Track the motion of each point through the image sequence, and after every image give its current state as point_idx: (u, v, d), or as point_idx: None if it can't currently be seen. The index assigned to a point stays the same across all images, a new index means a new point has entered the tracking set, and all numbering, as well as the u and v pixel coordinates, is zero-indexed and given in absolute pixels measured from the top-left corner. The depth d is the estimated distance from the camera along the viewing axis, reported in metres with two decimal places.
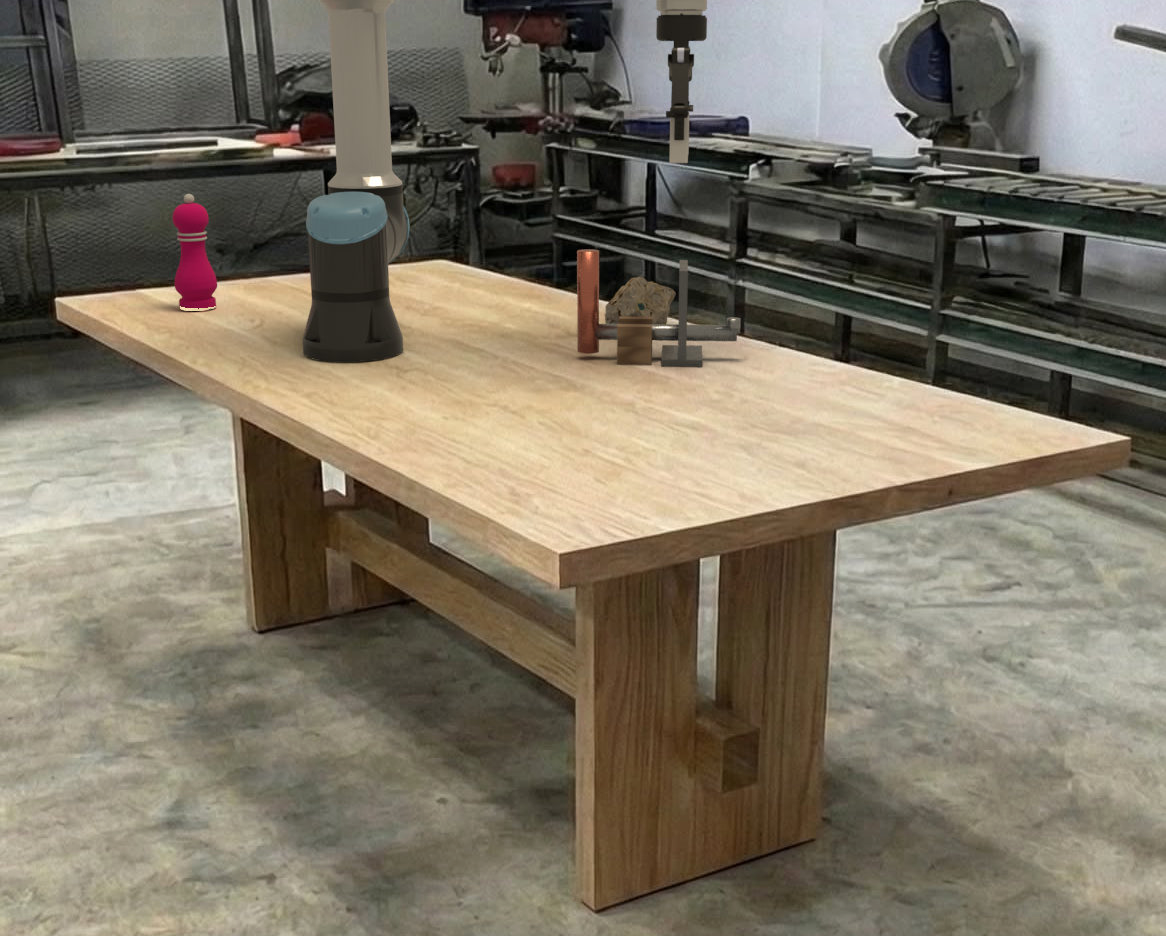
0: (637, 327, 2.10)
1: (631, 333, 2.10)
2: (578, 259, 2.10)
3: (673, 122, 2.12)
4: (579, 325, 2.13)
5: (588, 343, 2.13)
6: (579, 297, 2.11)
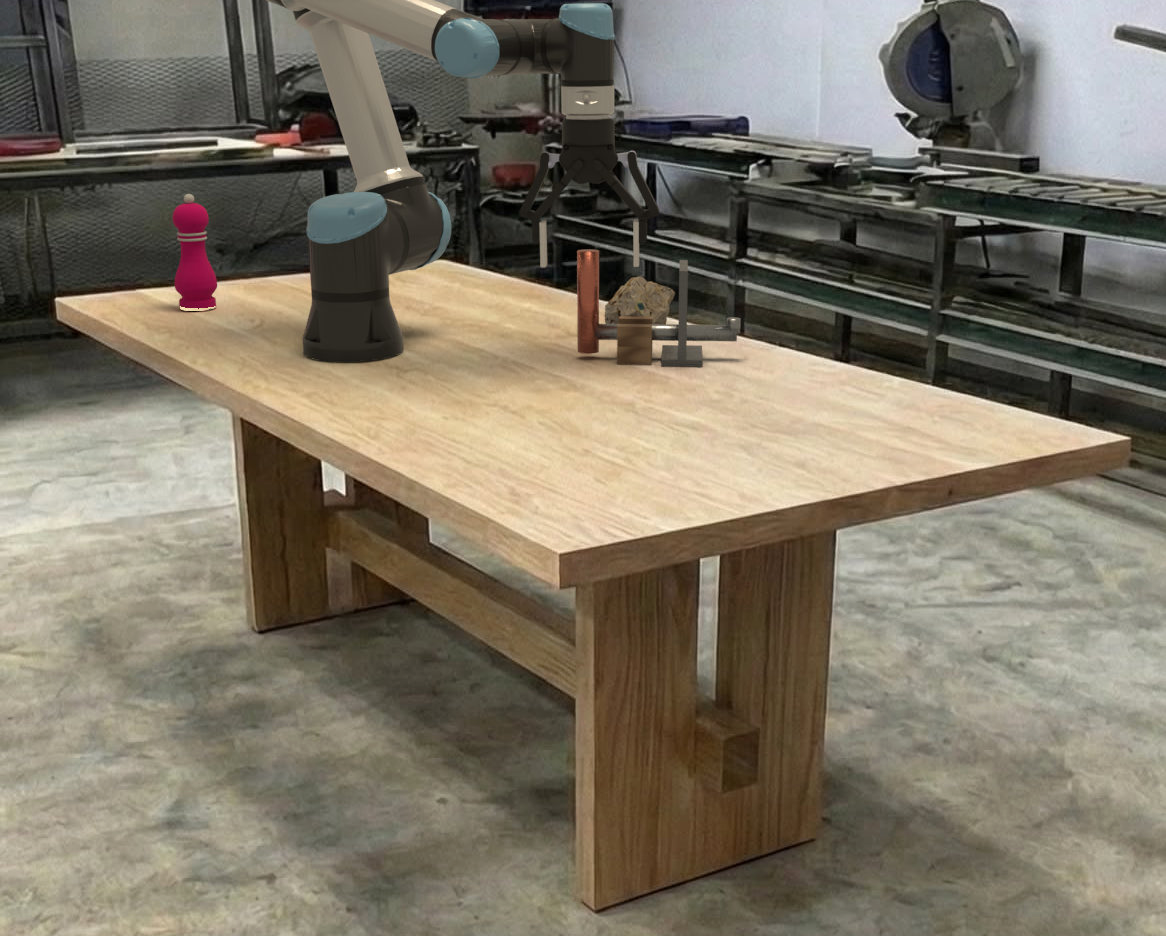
0: (637, 327, 2.10)
1: (631, 333, 2.10)
2: (578, 259, 2.10)
3: None
4: (579, 325, 2.13)
5: (588, 343, 2.13)
6: (579, 297, 2.11)
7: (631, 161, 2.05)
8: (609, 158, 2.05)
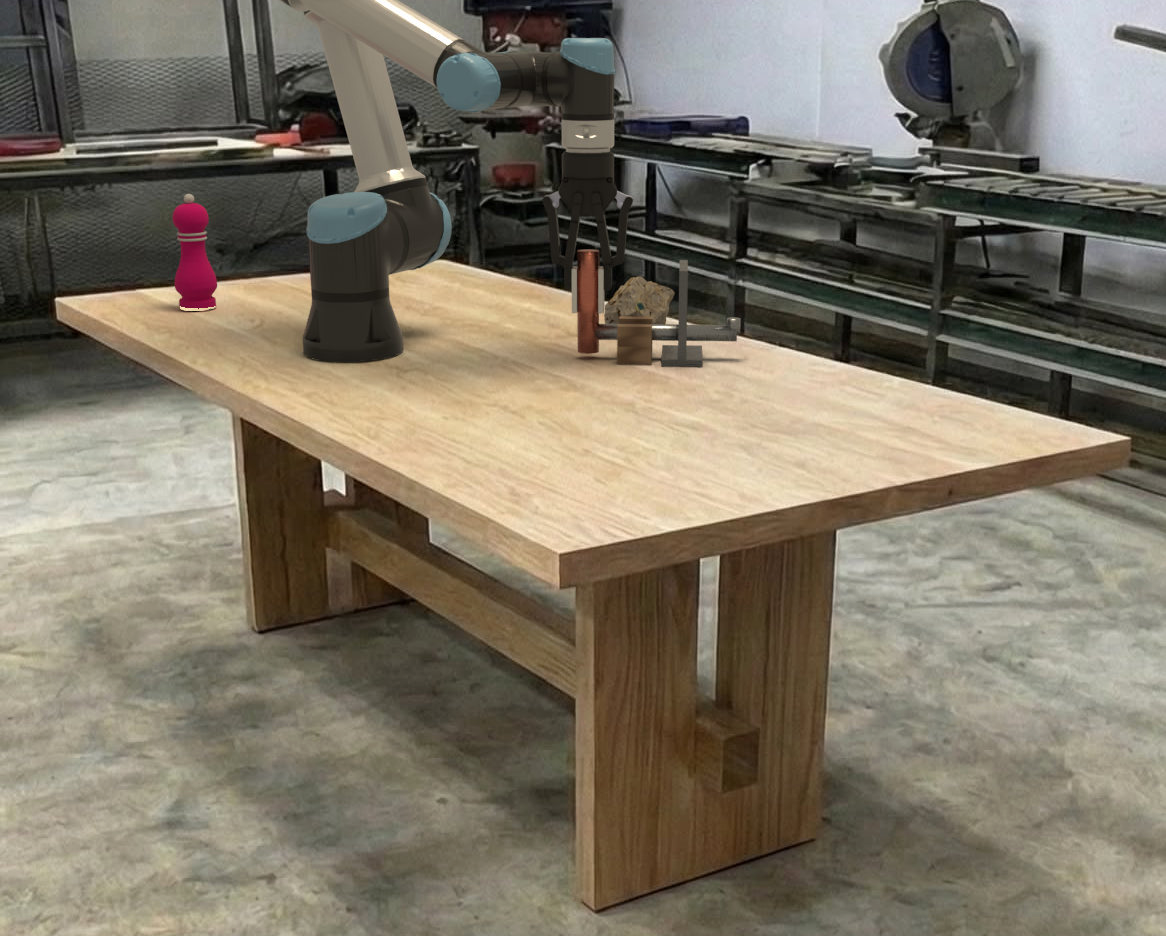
0: (637, 327, 2.10)
1: (631, 333, 2.10)
2: (578, 259, 2.10)
3: None
4: (579, 325, 2.13)
5: (588, 343, 2.13)
6: (579, 297, 2.11)
7: (625, 205, 2.07)
8: (608, 191, 2.07)
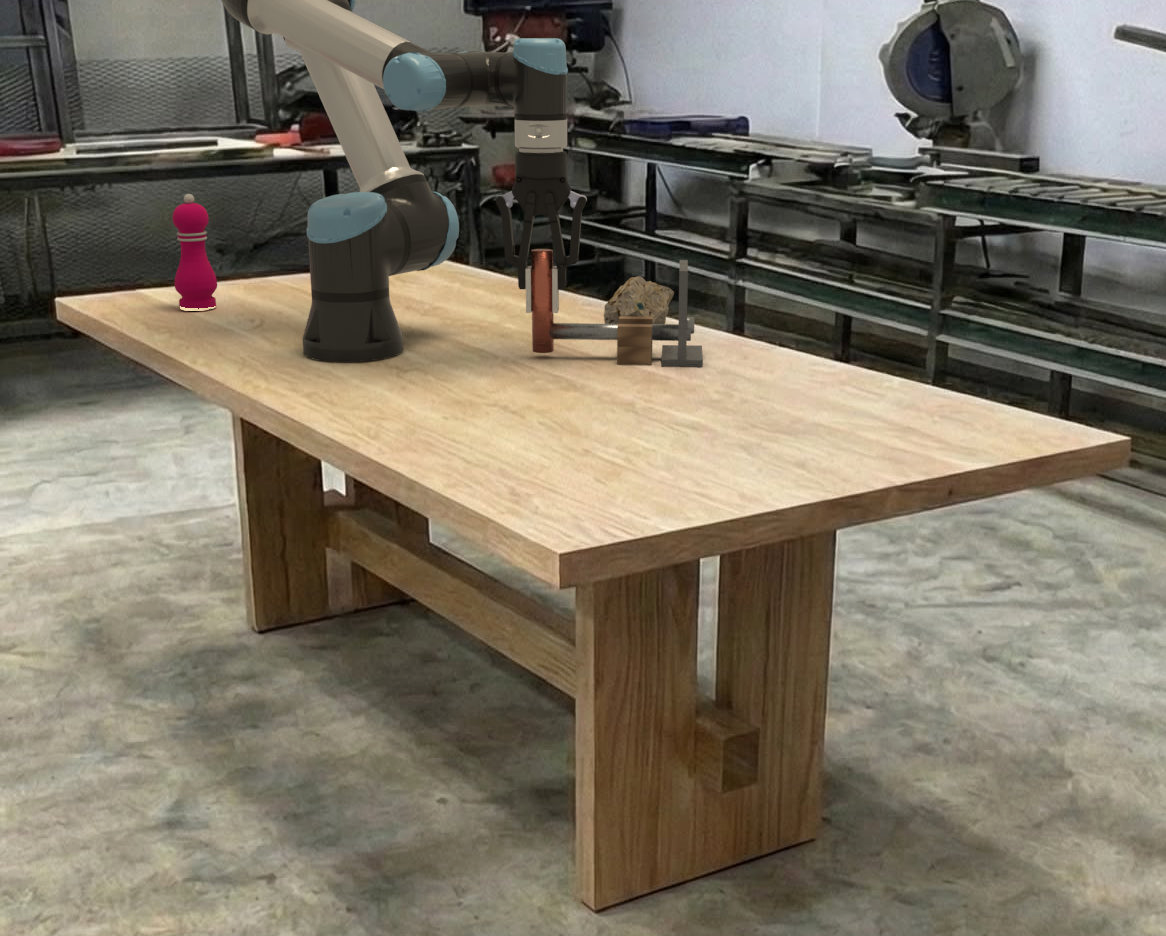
0: (637, 327, 2.10)
1: (631, 333, 2.10)
2: (532, 259, 2.11)
3: None
4: (533, 324, 2.13)
5: (542, 343, 2.13)
6: (534, 296, 2.12)
7: (579, 205, 2.08)
8: (562, 191, 2.07)
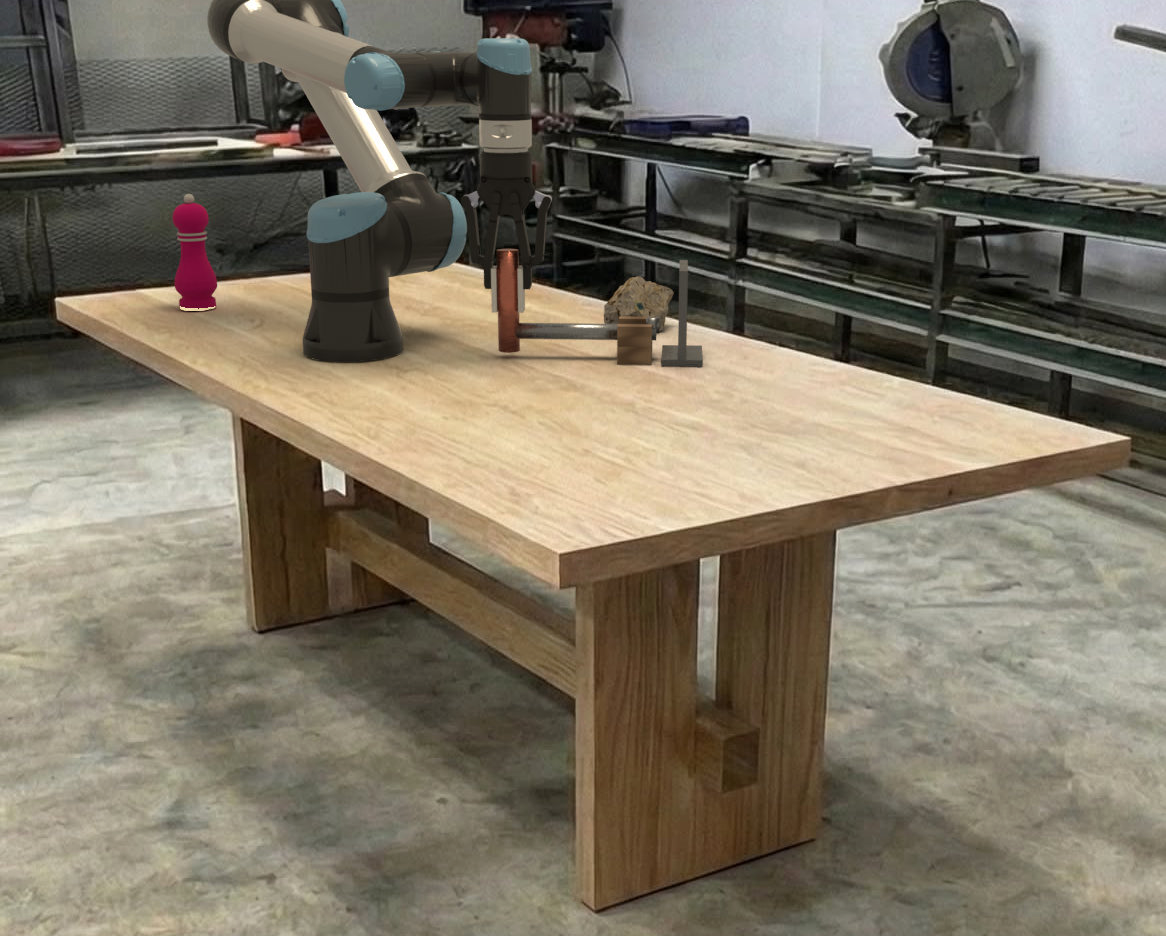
0: (637, 327, 2.10)
1: (631, 333, 2.10)
2: (497, 258, 2.11)
3: None
4: (499, 324, 2.14)
5: (508, 342, 2.14)
6: (499, 296, 2.12)
7: (543, 205, 2.08)
8: (526, 191, 2.07)
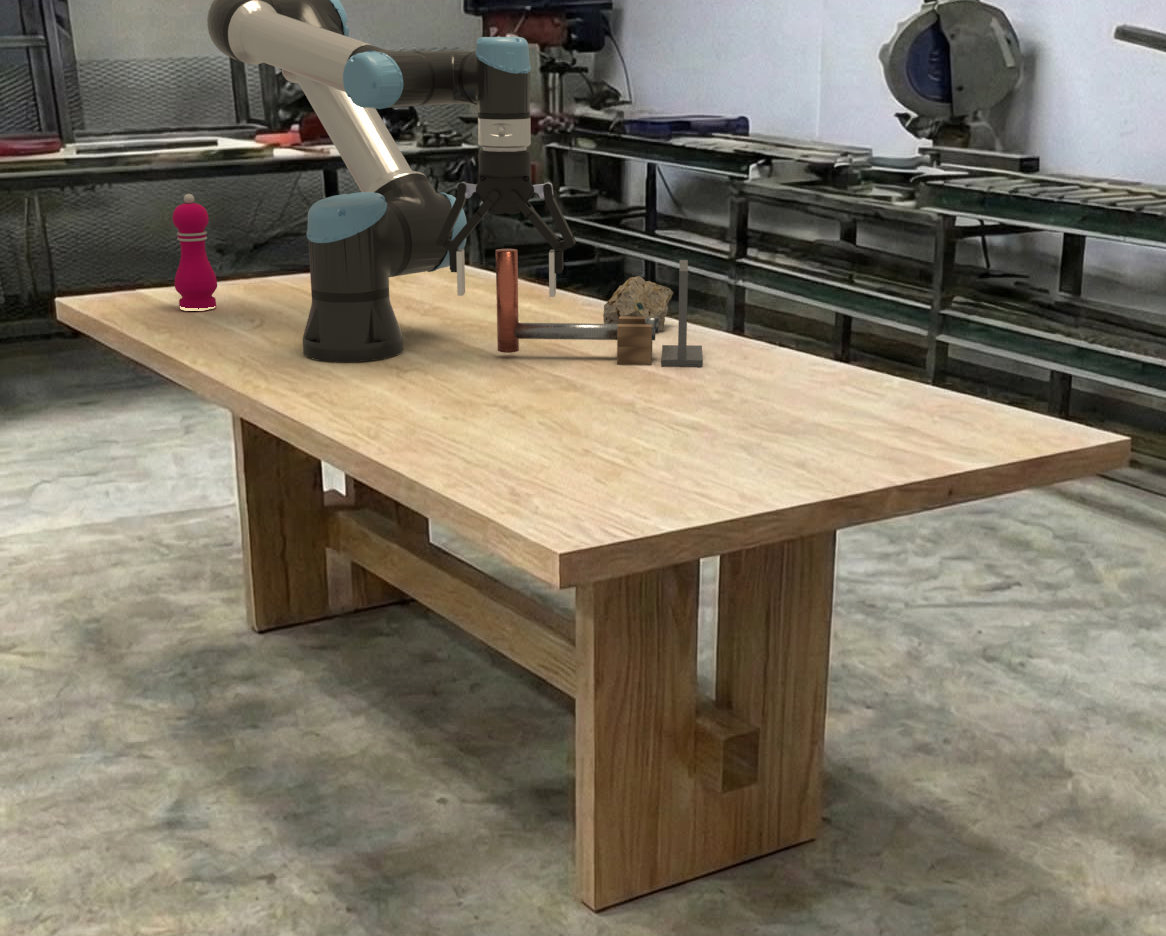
0: (637, 327, 2.10)
1: (631, 333, 2.10)
2: (496, 258, 2.11)
3: None
4: (498, 324, 2.14)
5: (507, 342, 2.14)
6: (498, 296, 2.12)
7: (547, 193, 2.07)
8: (525, 189, 2.07)
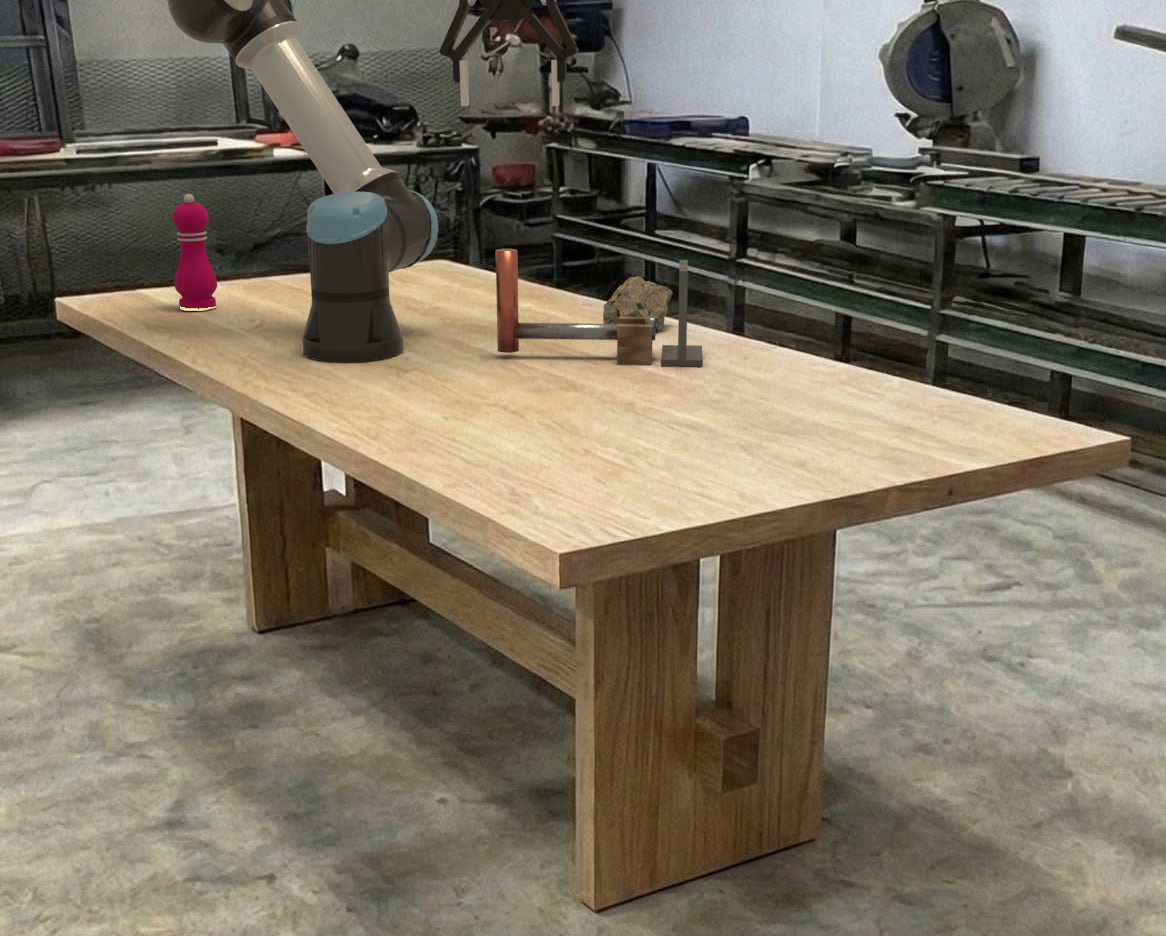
0: (637, 327, 2.10)
1: (631, 333, 2.10)
2: (496, 258, 2.11)
3: None
4: (498, 324, 2.14)
5: (507, 342, 2.14)
6: (498, 296, 2.12)
7: None
8: None
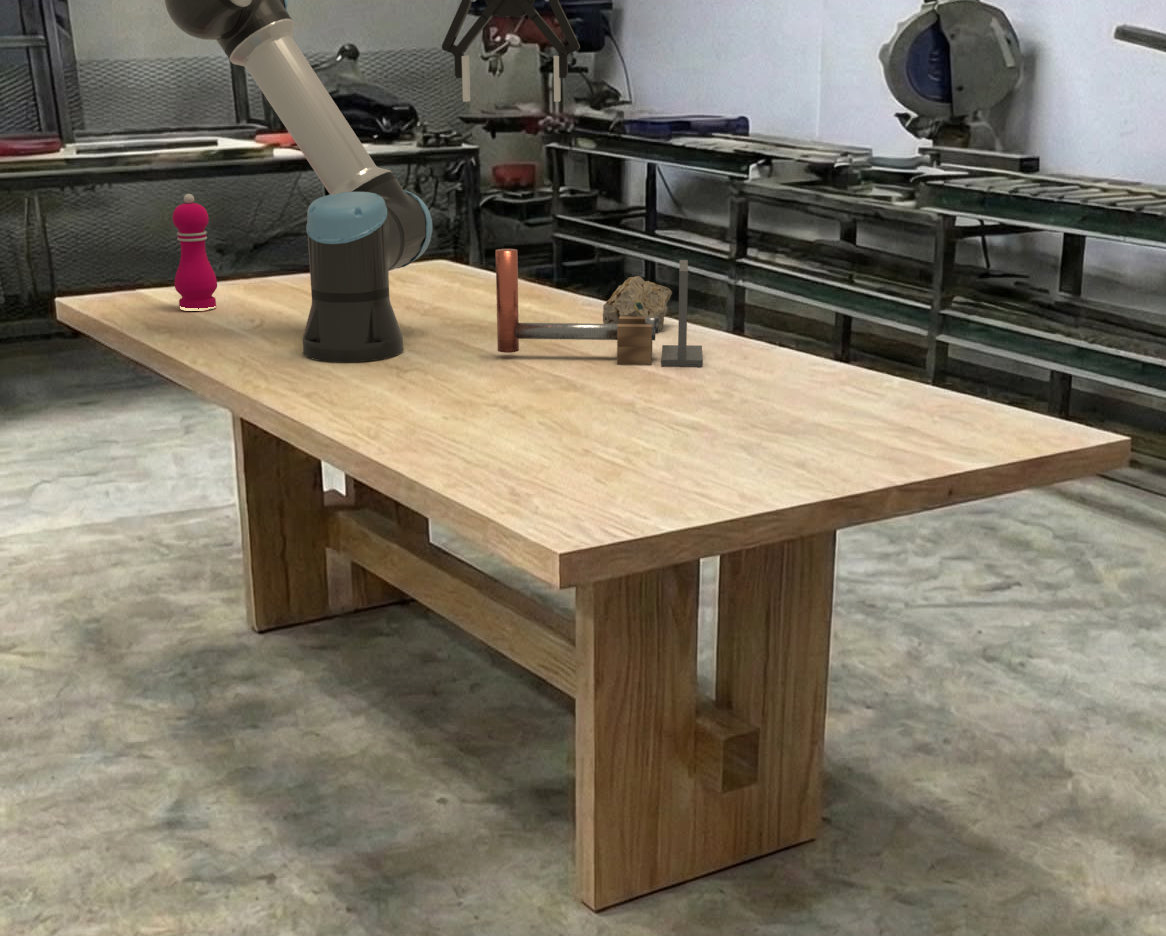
0: (637, 327, 2.10)
1: (631, 333, 2.10)
2: (496, 258, 2.11)
3: None
4: (498, 324, 2.14)
5: (507, 342, 2.14)
6: (498, 296, 2.12)
7: None
8: None
